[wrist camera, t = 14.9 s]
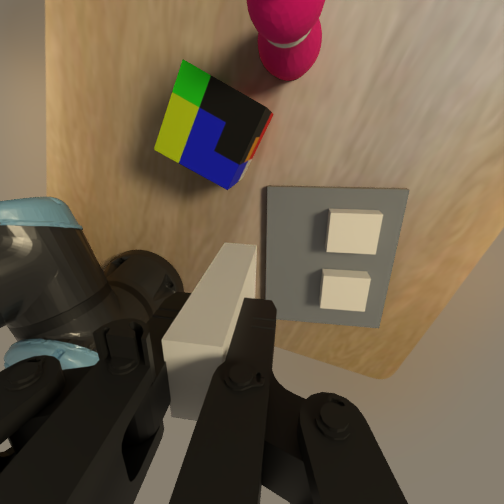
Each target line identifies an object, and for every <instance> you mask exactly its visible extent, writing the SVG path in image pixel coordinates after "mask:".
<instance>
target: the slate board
mask: <svg viewBox="0 0 504 504" xmlns="http://www.w3.org/2000/svg"><path fill="white" fill-rule="evenodd" d="M408 195H409V189H407V188H369V187H320V186H272V185H268V187H267V243H266V299H265V300H272V301H273V303H274V305H275V307H276V309H277V316H276V319H280V320H291V321H302V322H314V323H325V324H336V325H347V326H359V327H370V328H379V326H380V321H381V317H382V312H383V308H384V303H385V299H386V294H387V290H388V285H389V281H390V276H391V272H392V267H393V263H394V258H395V254H396V249H397V245H398V240H399V235H400V231H401V226H402V222H403V217H404V213H405V208H406V204H407V199H408ZM329 209H360V210H379V211H380V212H381V213H382V214H383V218H382V224H381V229H380V234H379V239H378V245H377V250H376V255H375V254H357V253H338V252H326V248H325V240H326V231H327V222H328V213H329ZM322 269H336V270H352V271H367V272H368V274H369V276H370V278H371V281H370V287H369V292H368V297H367V302H366V308H365V312H362V311H349V310H337V309H325V308H320V303H319V295H320V286H321V277H322Z"/></svg>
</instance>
